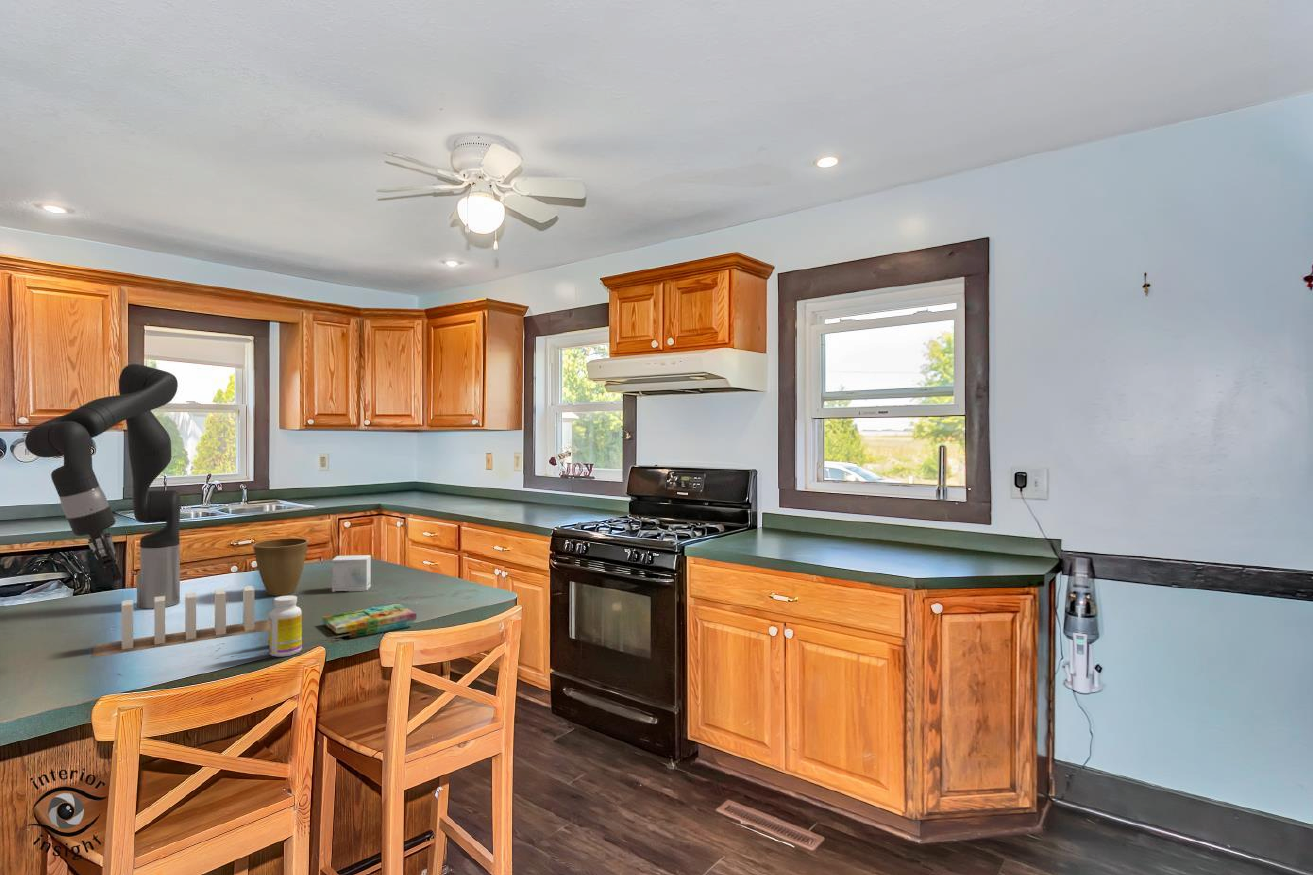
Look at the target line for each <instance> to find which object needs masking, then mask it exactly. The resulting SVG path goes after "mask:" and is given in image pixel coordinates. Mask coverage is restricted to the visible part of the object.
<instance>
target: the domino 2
mask: <svg viewBox="0 0 1313 875" xmlns="http://www.w3.org/2000/svg"><path fill="white" fill-rule="evenodd" d="M153 609H154V610H153V611H154V612H153V616H154V628H153V629H154V630H153V632H154V636H155V644H162V643H165V635H166V607H165V596H161V597H155V599H154V608H153Z"/></svg>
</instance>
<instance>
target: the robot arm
mask: <svg viewBox="0 0 1313 875" xmlns="http://www.w3.org/2000/svg"><path fill="white" fill-rule="evenodd" d="M178 383H179V382H178V379H177V377H176V376H175V375H174V374H172V373H170V372H168V371H165V370H162V369H158V368H154V367H151V366H148V365H144V364H138V363H137V364H136V363H130V364H128V365H126V366H124V368H123V369H122V370H121V372H120V374H119V377H118V393H119V394H118V395H111V396H109V395H108V396H104V397H101V398H96V399H94V400H91V401H89V402H87V403H84V404H83V405H81V406H79V407H77V408H76V409H74V410H73V411H71V412H69V413H67V414H63V415H60V416H58V417H54V418H52V419H50V420H47V421H45V422H44V421H43V422H41V423H39V424H37V425H35V426H34V427H32V428H31V429H30V430H29V431H28V432H27V434H26V435H25V437H24V438H25V440H24V446H25V448H26V449H27V451H29V452H30V453H31V454H32V455H34V456H36V457H39V458H53V457H61V456H63V465H62V466H60V467H57V468H55V469H53V470H52V472H51V474H50V476H51V477H50V478H51V480H52V483H53V486H54V488H55V491H56V492H57V495H58V498H59V501H60V505H61V507H62V510H63V512H64V515H65V517H66V520H67V522H68V524H69V527H70V529H71V532H72V533H73V535H74V536H77V537H79V536H81V537H82V536H85V535H87V536H90V538H88V541H87V544H88V546H89V549H90V550H92V553H93V554H94V557H95V558H96V560H98V562H99V563H100V566H101V567H102V568H103V569H105V573H106V574H107V577H108V578H109V581H110V582H111V583H113V582H117V581H120V580H122V579H123V574H122V572H121V568H120V567H119V565H118V558H117V554H116V548H115V545H114V543H113V536H112V534H111V532H107V533H106V529H107V530H108V529H109V528H111V527H113V526H114V525H115V524H116V519H115V517H114V514H113V511H112V509H111V506H110V504H109V502H108V500H107V497H106V495H105V492H104V491H103V489H102V488H101V485H100V483H99V481H98V479H97V476H96V474H95V471H94V469H93V455H92V453H93V452H92V441H91V439H93V438H96V437H98V436H99V435H100V436H101V435H102V434H103V433H105V432H106V431H108V430H109V429H111V428H113V427H114V426H117V425H118V424H120V423H122V422H124V421H125V423H126V431H127V441H128V442H127V443H128V444H127V445H128V455H129V461H130V468H131V475H132V508H133V516H134V518H135V520H136V521H137V522H138V523H142V524H151V523H152V524H153V523H166V524H165V526H164V527H163V528H159V530H156V531H155V532H154V531H153V532H152V533H148V534H146V535H144V536H141V538H140V542H139V561H140V562H139V563H140V564H139V568H140V569H139V572H138V573H137V574H136V607H140V608H143V609H154V599H155V597H161V596H165V608H168V607H171V606H172V607H173V606H175V605H177V604H180V603H181V600H180V599H181V589H180V588H181V581H180V580H181V565H180V564H181V562H180V560H181V553H180V551H181V547H180V546H181V545H180V544H181V543H180V540H181V539H180V519H181V506H182V505H181V502H182V501H181V494H180V493H179V491H178V490H176V489H168V490H167V489H162V490H149V488H150V486H151V485H152V483H153V482H154V481H155V480H156V479H157V478H158V476H160V474H162V473H163V471H165V470H166V468H167V467H168V465H169V464H170V463H171V460H172V457H173V456H172V442H171V438H170V435H169V432H167V429H166V428H165V427H164V426H163V424H162V423H161V422H160V421H159V420H158V419H157V417H156V416H155V415H154V413H153V412H152V411H153V410H155V409H158V408H162V407H164V406H165V405H167V404H168V403H170V402H171V401H172V400H173V399H174V398H175V396H176V393H177V391H178V388H179V384H178Z"/></svg>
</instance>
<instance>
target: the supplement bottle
mask: <svg viewBox="0 0 1313 875" xmlns="http://www.w3.org/2000/svg"><path fill="white" fill-rule="evenodd" d="M297 602H298V597H297V596H296V595H282V596H276V597H275V598H273V604H274V609H272V610H271V611H270V612H269V616H268V620H269V630H268V631H269V632H268V633H269V635H268V636H269V637H268V640H269V641H268V642H269V643H268V645H269V648H268V650H269V655H271V656H272V657H279V658H281V657H289V656H293V655H296V654H298V653H300V652H301V650H302V648H303V641H302V640H303V634H302V633H303V631H302V630H303V629H302V628H303V625H302V624H303V623H302V620H303V619H302V618H303V616H302V614H303V613H302V609H301V608H300V607H299V606H297Z"/></svg>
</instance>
